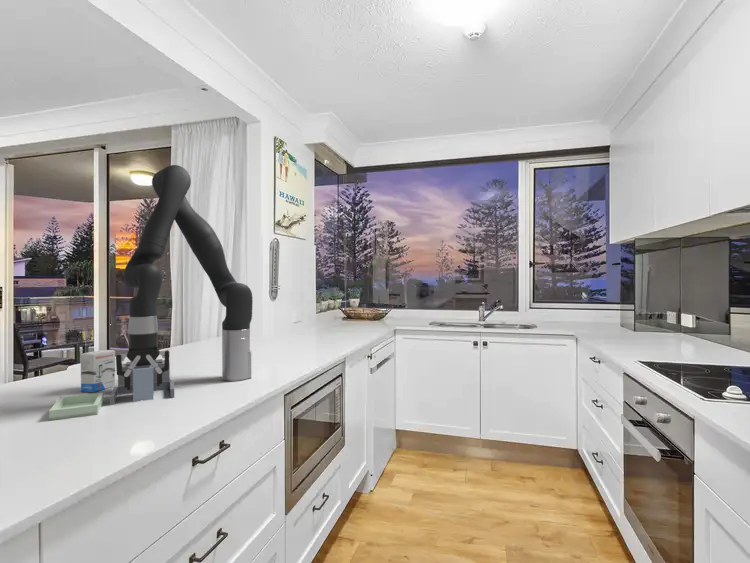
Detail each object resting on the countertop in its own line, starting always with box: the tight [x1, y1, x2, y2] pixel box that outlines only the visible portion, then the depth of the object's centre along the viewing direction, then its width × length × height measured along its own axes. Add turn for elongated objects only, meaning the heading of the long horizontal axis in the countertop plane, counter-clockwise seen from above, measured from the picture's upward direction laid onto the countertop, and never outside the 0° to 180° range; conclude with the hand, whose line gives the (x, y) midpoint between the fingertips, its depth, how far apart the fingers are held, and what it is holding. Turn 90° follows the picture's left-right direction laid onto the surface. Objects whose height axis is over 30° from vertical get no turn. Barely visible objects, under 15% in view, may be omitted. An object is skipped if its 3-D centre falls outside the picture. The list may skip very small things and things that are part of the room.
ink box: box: [80, 349, 116, 393], centre depth 131 cm, size 9×5×12 cm, turn 168°
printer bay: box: [109, 358, 175, 406], centre depth 126 cm, size 16×18×9 cm
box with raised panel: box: [132, 365, 154, 402], centre depth 122 cm, size 5×8×10 cm, turn 27°
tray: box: [48, 392, 105, 421], centre depth 110 cm, size 10×13×2 cm
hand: (143, 387), depth 122 cm, fingers open, 7 cm apart
